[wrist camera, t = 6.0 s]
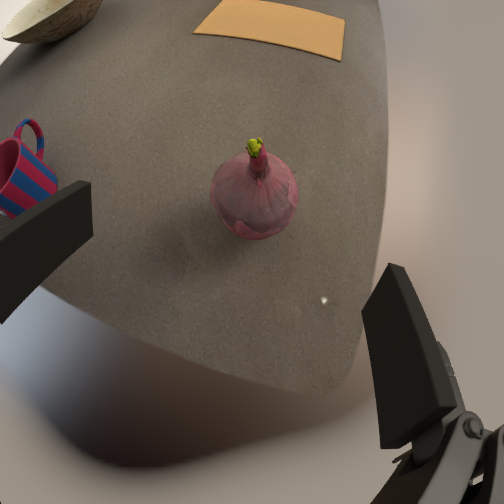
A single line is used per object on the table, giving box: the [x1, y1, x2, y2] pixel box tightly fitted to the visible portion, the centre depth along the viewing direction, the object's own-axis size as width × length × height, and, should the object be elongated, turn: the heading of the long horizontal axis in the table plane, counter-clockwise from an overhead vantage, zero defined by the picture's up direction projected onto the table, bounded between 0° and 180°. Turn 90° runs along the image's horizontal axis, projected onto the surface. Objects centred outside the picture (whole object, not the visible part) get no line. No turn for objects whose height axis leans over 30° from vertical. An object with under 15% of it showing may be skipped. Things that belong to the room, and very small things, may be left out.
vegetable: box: [210, 138, 298, 240], centre depth 18 cm, size 6×6×10 cm
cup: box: [0, 119, 57, 220], centre depth 20 cm, size 7×10×7 cm
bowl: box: [2, 0, 103, 44], centre depth 26 cm, size 24×24×10 cm
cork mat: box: [193, 0, 345, 61], centre depth 30 cm, size 20×14×1 cm
